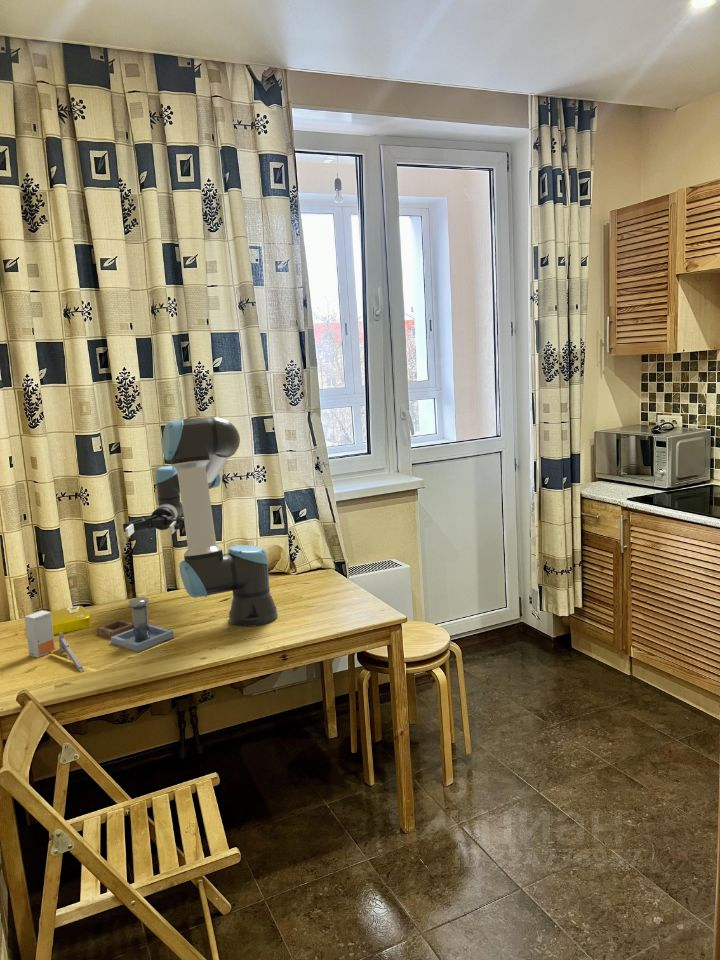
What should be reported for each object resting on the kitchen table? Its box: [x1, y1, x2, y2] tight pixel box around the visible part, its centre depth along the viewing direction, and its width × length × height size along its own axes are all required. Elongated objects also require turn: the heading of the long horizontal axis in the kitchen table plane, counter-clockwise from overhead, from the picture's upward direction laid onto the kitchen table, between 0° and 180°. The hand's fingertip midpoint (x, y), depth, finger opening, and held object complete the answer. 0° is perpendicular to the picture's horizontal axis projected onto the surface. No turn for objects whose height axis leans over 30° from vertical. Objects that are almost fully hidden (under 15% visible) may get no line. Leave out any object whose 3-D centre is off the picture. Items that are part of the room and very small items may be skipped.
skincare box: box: [24, 610, 56, 659], centre depth 215 cm, size 6×4×12 cm
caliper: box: [58, 632, 85, 673], centre depth 209 cm, size 20×1×6 cm, turn 37°
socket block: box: [96, 618, 134, 639], centre depth 229 cm, size 8×8×3 cm
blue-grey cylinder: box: [128, 596, 150, 643], centre depth 220 cm, size 6×6×12 cm
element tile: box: [50, 605, 92, 636], centre depth 237 cm, size 15×15×5 cm
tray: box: [110, 624, 175, 654], centre depth 221 cm, size 13×13×2 cm
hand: (149, 531), depth 231 cm, fingers open, 13 cm apart
